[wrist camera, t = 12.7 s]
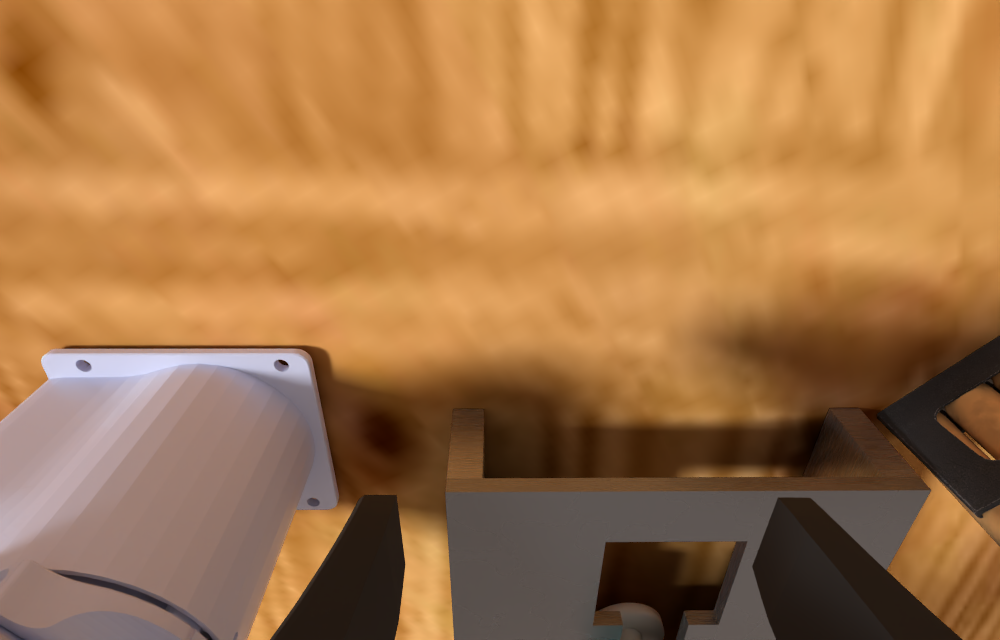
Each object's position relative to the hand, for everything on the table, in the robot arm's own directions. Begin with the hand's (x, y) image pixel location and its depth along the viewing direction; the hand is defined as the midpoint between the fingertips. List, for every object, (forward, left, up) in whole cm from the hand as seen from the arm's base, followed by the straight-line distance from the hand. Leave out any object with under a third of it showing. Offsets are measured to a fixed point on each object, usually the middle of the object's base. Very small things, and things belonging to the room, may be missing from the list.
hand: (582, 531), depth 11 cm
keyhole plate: (+5, -16, -10) cm, 20 cm away
